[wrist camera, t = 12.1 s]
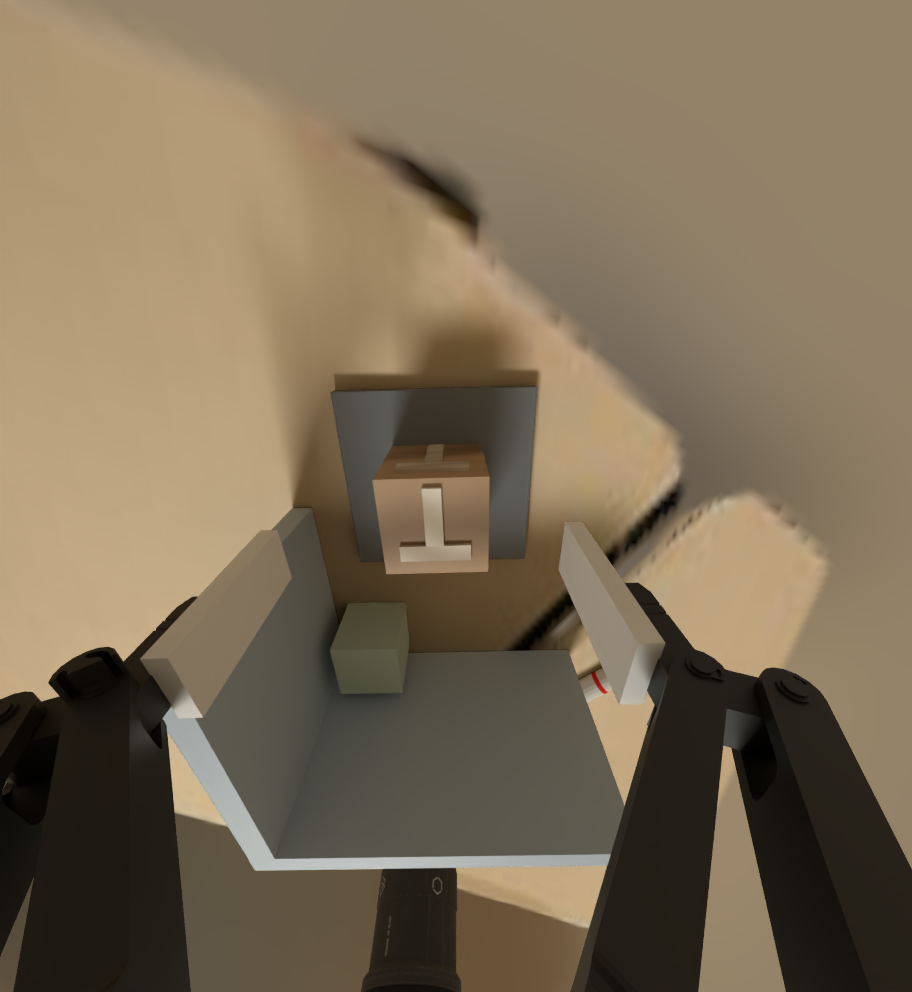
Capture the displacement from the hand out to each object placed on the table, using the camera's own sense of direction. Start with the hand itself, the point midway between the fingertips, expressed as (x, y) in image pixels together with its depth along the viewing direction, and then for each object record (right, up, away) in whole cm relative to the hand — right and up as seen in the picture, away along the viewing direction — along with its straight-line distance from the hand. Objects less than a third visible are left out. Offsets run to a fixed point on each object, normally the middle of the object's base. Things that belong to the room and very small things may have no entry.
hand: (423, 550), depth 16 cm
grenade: (-3, -38, +29) cm, 48 cm away
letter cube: (0, +3, +8) cm, 9 cm away
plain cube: (-5, -9, +15) cm, 18 cm away
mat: (0, +4, +9) cm, 10 cm away
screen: (0, -5, +13) cm, 14 cm away
